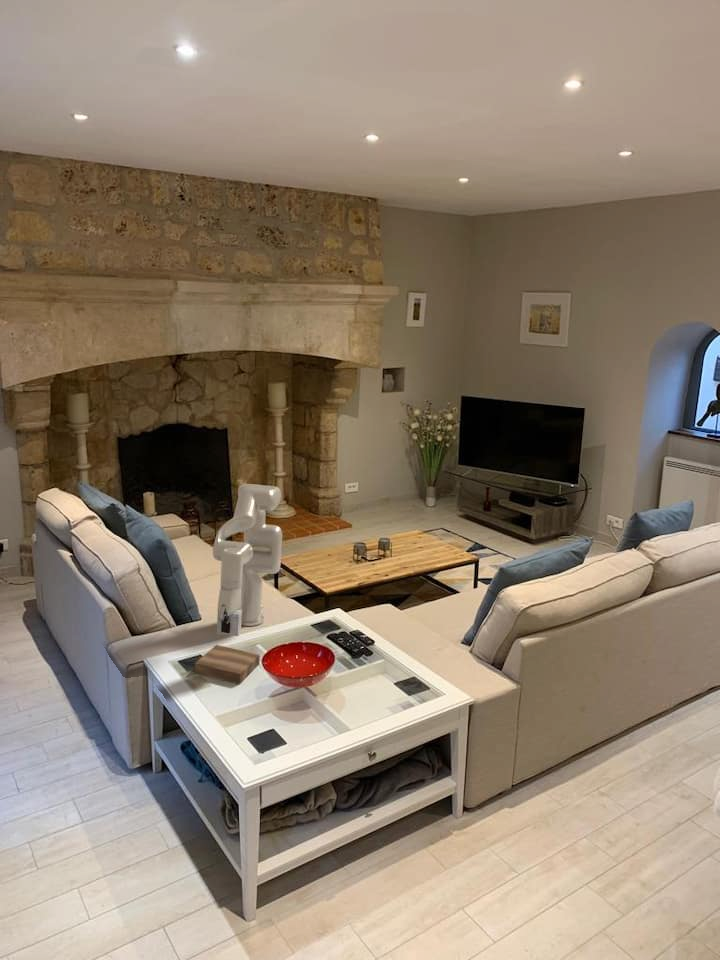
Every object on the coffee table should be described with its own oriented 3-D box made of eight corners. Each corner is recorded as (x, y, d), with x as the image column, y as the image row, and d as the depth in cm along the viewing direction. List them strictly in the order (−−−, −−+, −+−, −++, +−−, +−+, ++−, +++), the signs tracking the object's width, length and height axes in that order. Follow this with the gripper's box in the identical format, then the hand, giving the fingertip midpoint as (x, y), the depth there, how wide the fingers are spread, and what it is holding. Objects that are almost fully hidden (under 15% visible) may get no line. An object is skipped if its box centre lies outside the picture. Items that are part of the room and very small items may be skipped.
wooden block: (216, 654, 277) (216, 644, 276) (259, 664, 272) (259, 654, 271) (194, 673, 262) (195, 663, 261) (239, 684, 257) (240, 674, 256)
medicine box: (241, 631, 265) (242, 609, 263) (237, 637, 261) (238, 614, 259) (220, 629, 266) (221, 607, 264) (216, 634, 262) (217, 612, 260)
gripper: (232, 572, 268) (230, 618, 272) (210, 588, 252) (208, 636, 256) (251, 576, 266) (248, 622, 270) (229, 592, 250) (227, 641, 254)
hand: (229, 628), depth 263 cm, fingers closed on medicine box, 5 cm apart
